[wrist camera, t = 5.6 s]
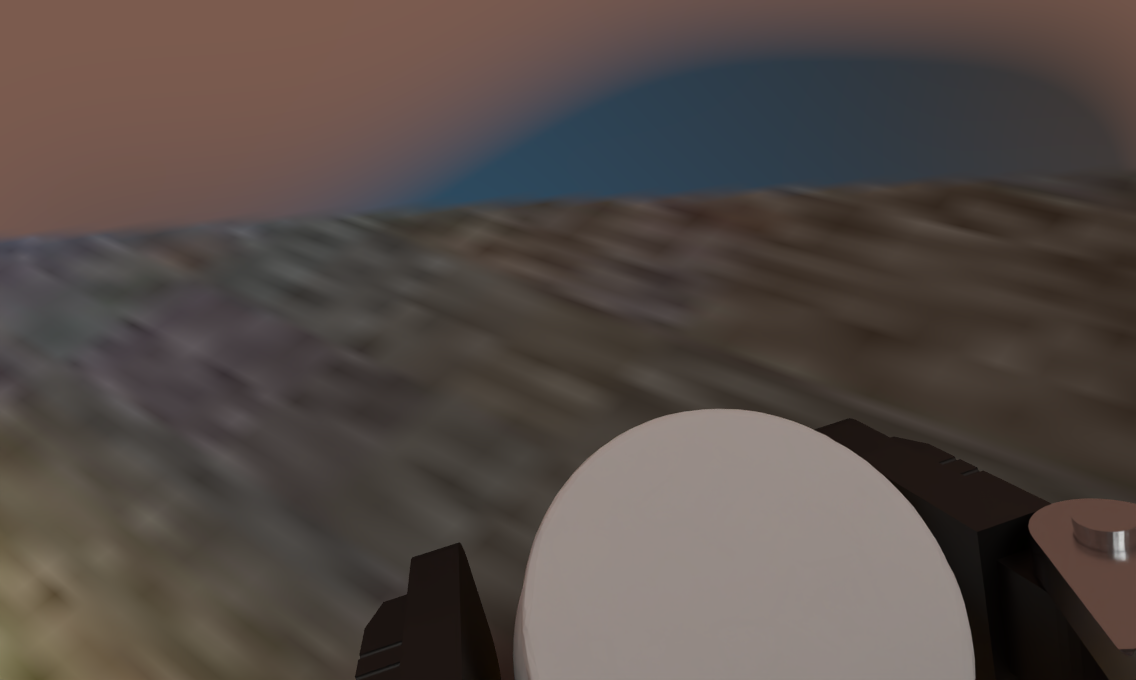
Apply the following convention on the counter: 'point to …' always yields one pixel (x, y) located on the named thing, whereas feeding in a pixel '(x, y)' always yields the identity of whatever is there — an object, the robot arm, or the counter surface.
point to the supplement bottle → (736, 564)
